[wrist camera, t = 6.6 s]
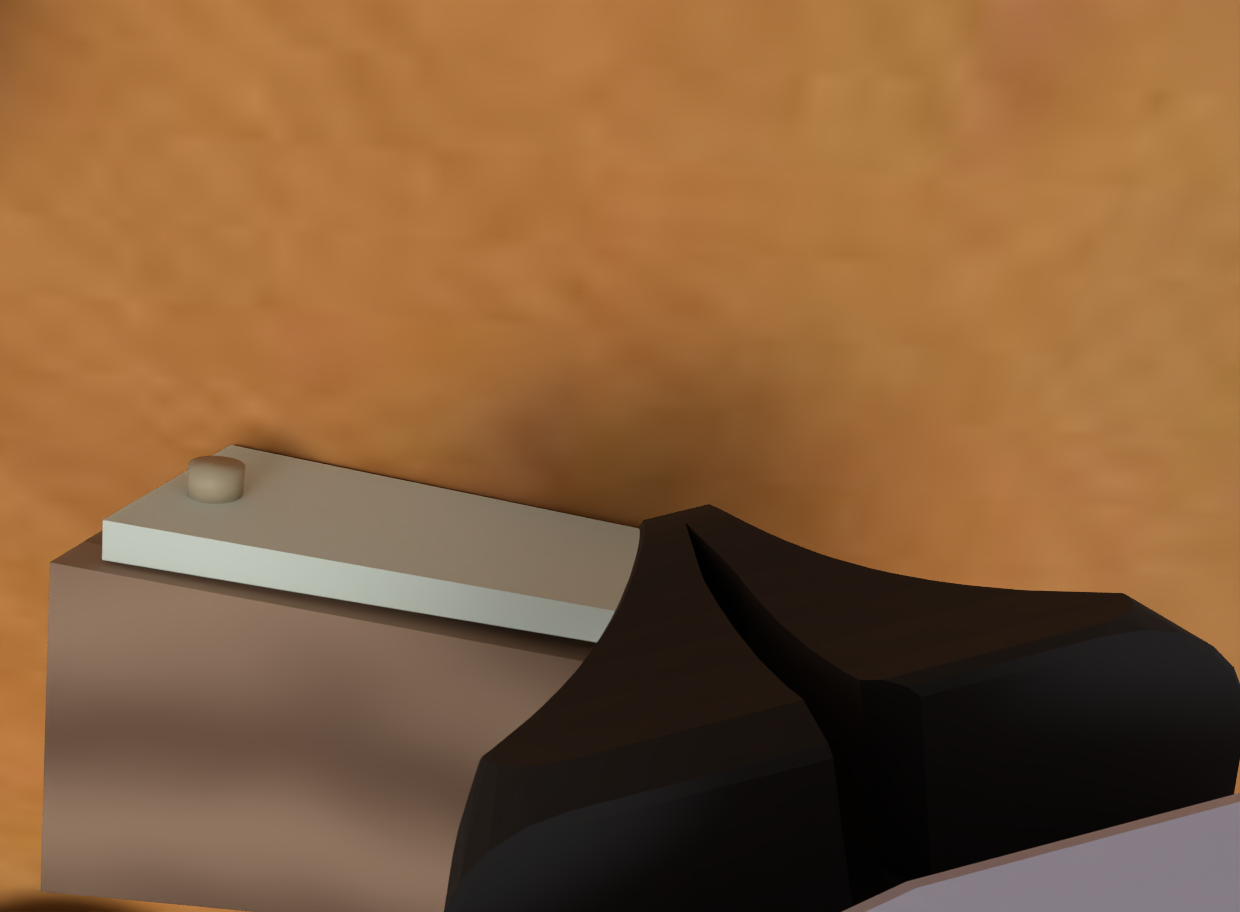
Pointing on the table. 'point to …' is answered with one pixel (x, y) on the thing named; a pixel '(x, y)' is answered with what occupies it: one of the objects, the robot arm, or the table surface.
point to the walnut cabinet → (267, 739)
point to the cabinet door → (378, 543)
